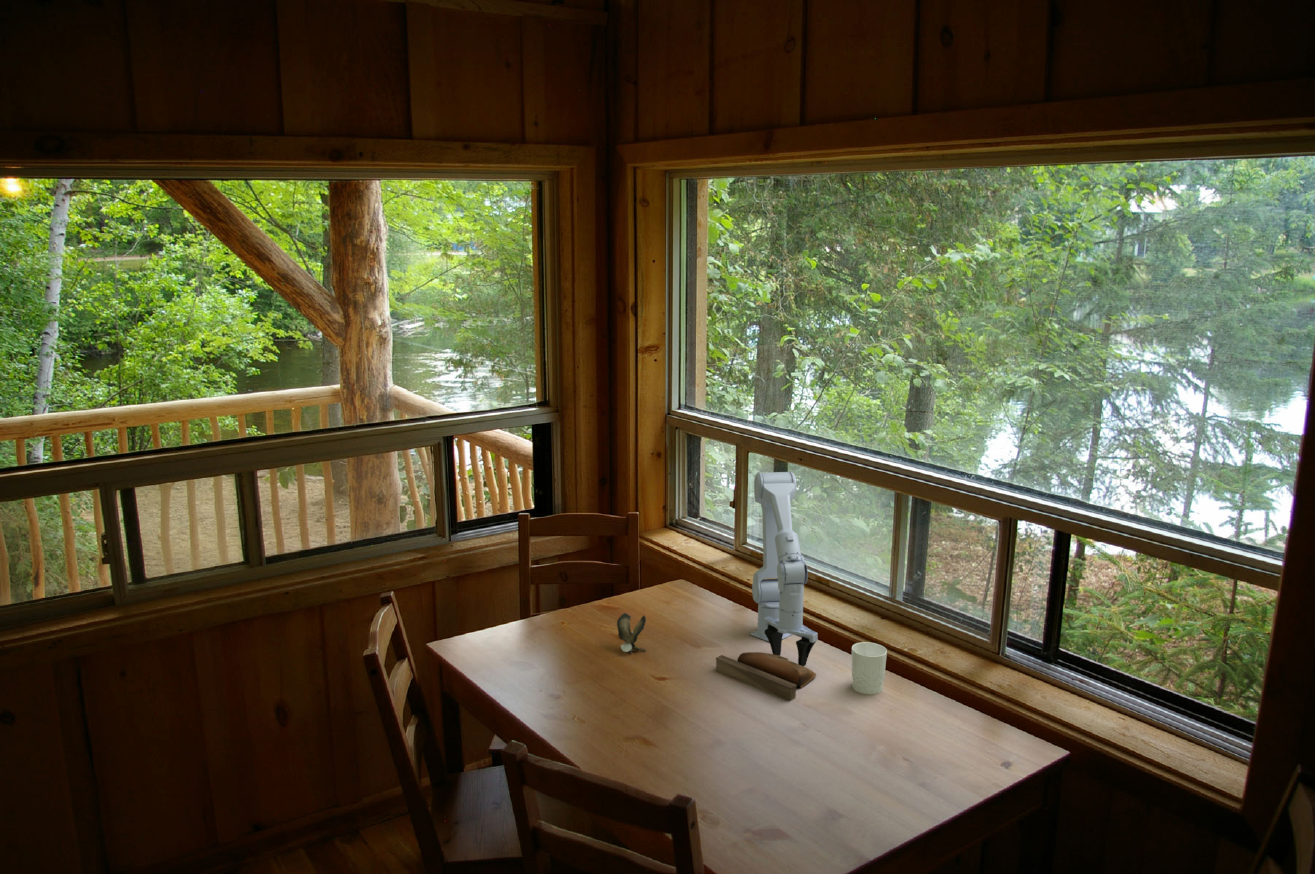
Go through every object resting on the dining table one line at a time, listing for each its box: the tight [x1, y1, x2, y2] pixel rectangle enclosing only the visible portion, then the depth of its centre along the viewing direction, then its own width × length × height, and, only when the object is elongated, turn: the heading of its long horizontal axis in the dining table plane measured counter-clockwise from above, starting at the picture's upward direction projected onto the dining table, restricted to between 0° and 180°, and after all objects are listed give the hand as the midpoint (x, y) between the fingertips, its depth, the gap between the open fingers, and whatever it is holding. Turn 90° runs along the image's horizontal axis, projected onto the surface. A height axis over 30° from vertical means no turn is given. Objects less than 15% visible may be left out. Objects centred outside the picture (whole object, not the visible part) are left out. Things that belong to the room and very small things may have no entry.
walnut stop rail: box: [715, 654, 798, 702], centre depth 207 cm, size 2×22×3 cm, turn 45°
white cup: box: [851, 641, 888, 695], centre depth 204 cm, size 8×8×10 cm
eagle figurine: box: [616, 612, 648, 655], centre depth 225 cm, size 8×7×9 cm
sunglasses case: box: [736, 651, 817, 689], centre depth 213 cm, size 18×7×7 cm
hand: (789, 661), depth 217 cm, fingers open, 7 cm apart
